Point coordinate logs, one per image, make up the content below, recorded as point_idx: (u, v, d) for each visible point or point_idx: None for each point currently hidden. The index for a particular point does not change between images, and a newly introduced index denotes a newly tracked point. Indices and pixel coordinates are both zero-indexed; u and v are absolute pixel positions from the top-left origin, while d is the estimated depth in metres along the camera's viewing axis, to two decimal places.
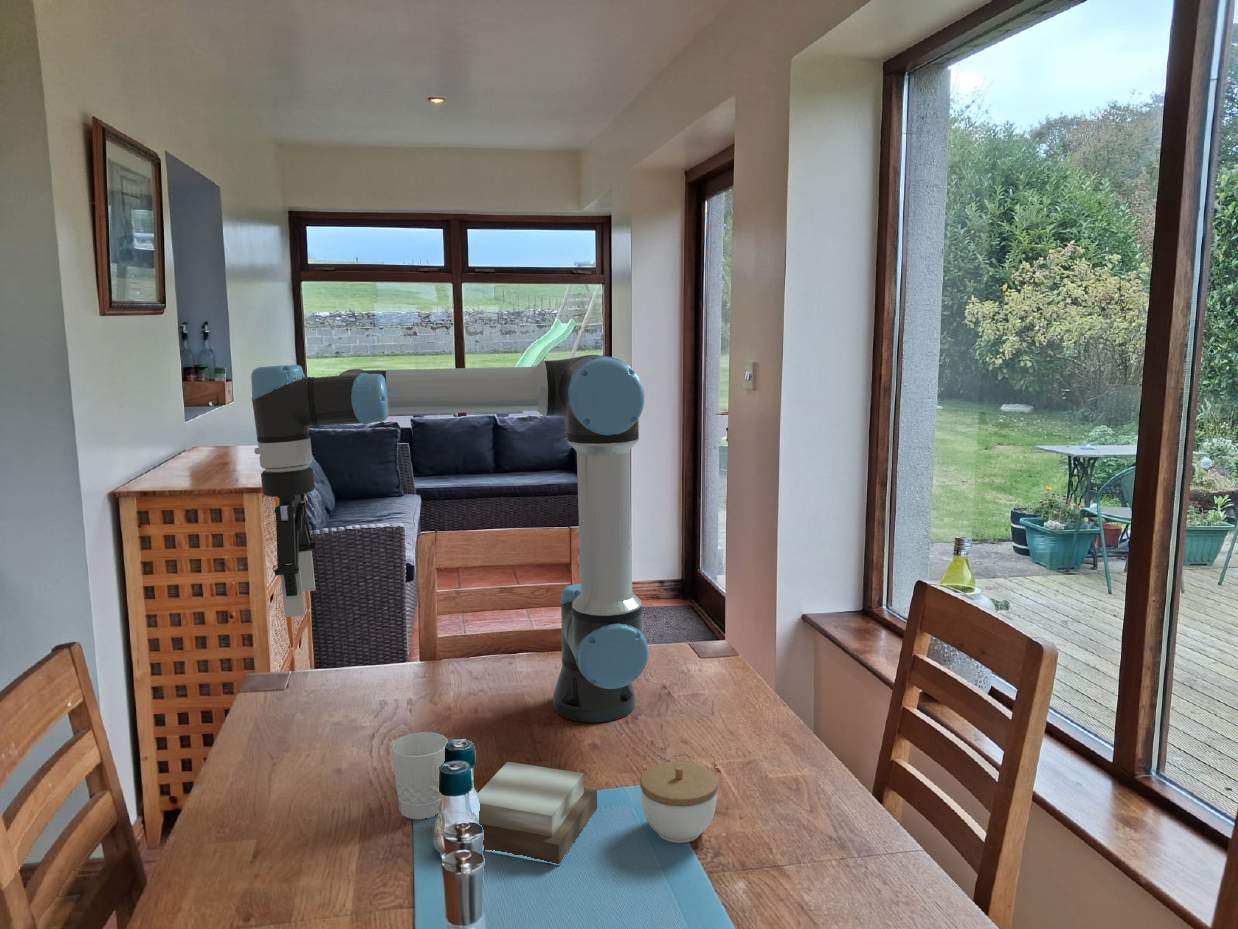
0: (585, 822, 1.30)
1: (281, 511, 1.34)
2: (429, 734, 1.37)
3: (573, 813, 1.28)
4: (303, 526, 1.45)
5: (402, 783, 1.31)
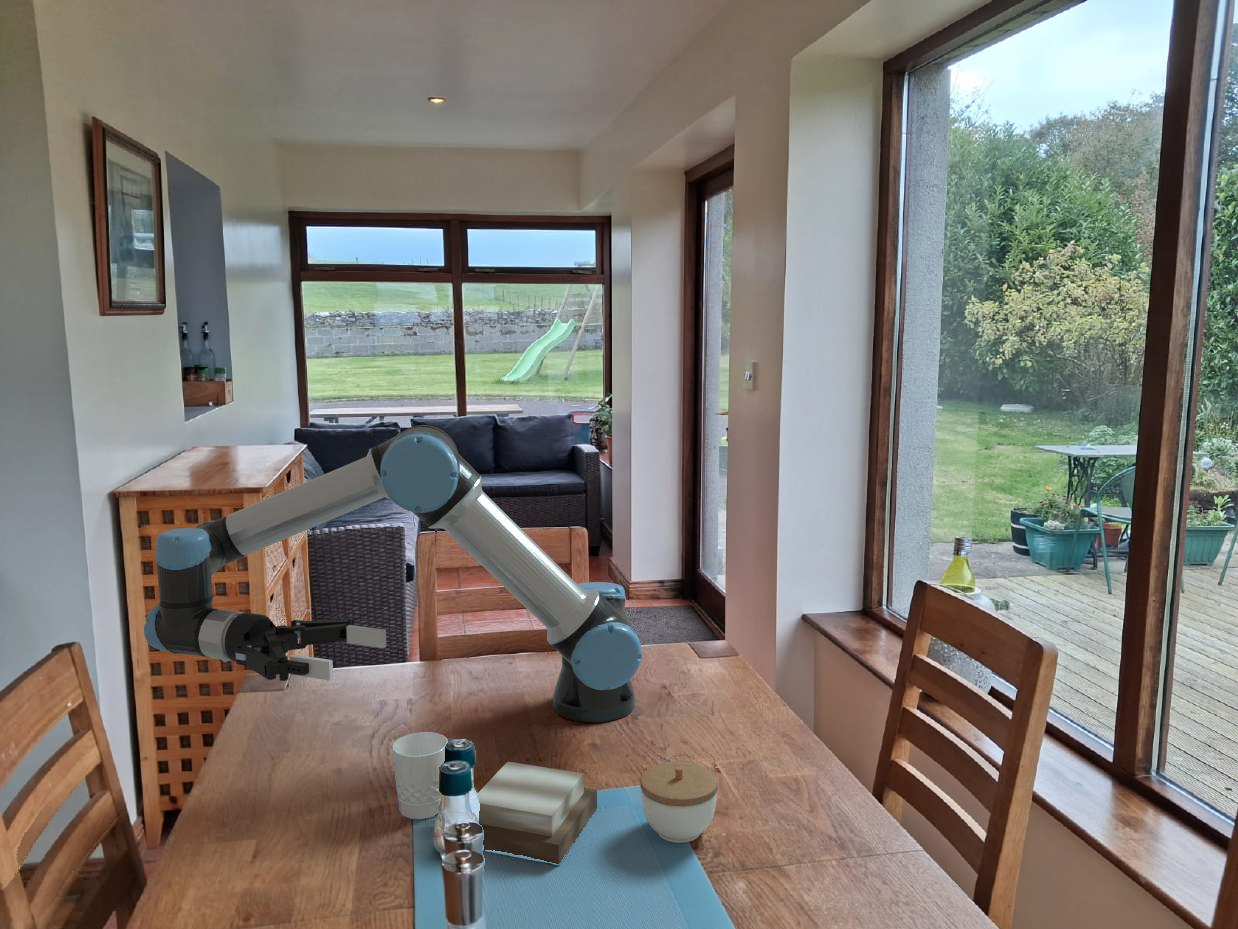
0: (585, 822, 1.30)
1: (237, 658, 1.33)
2: (429, 734, 1.37)
3: (573, 813, 1.28)
4: (308, 630, 1.41)
5: (402, 783, 1.31)
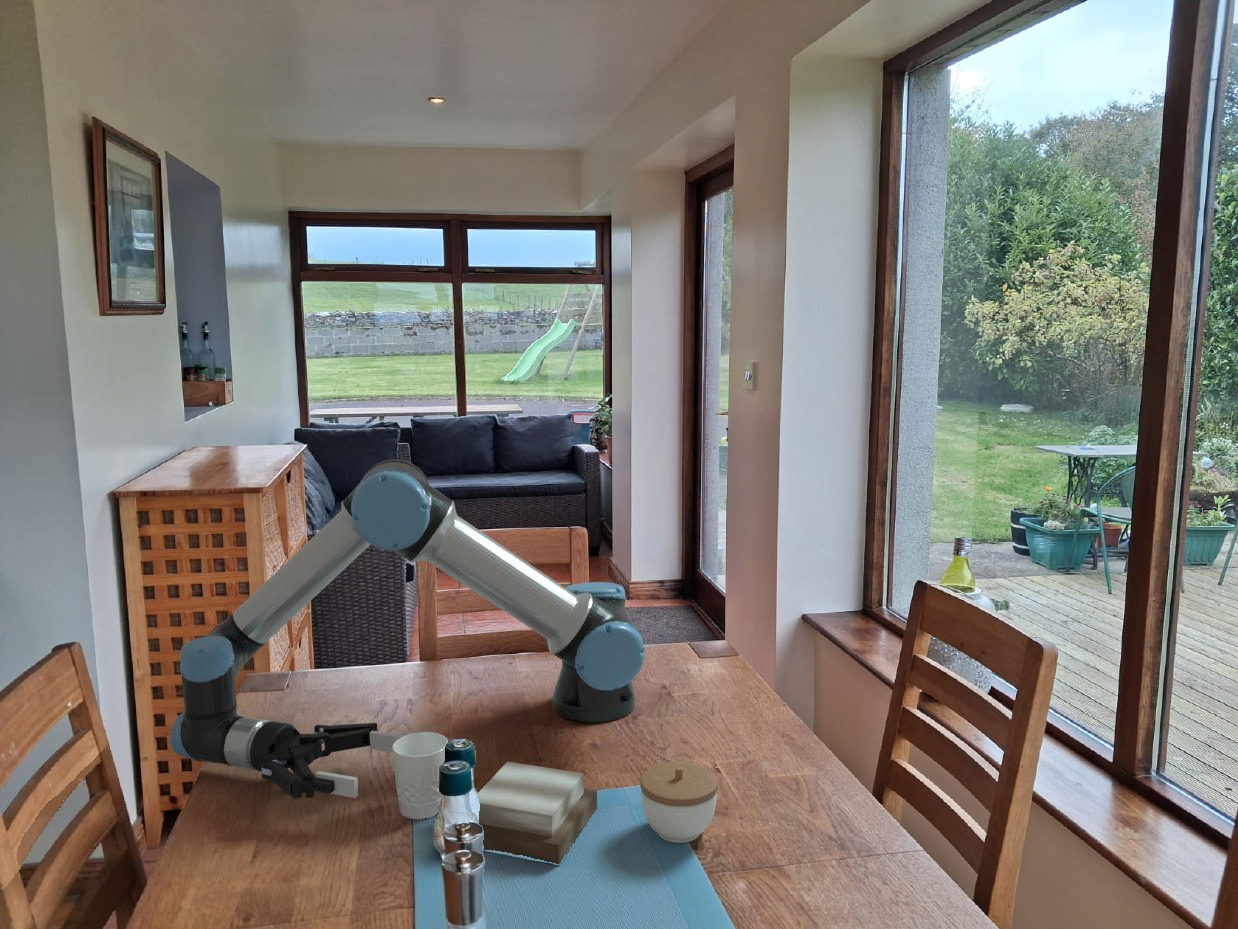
0: (585, 822, 1.30)
1: (263, 773, 1.34)
2: (429, 734, 1.37)
3: (573, 813, 1.28)
4: (332, 738, 1.42)
5: (402, 783, 1.31)
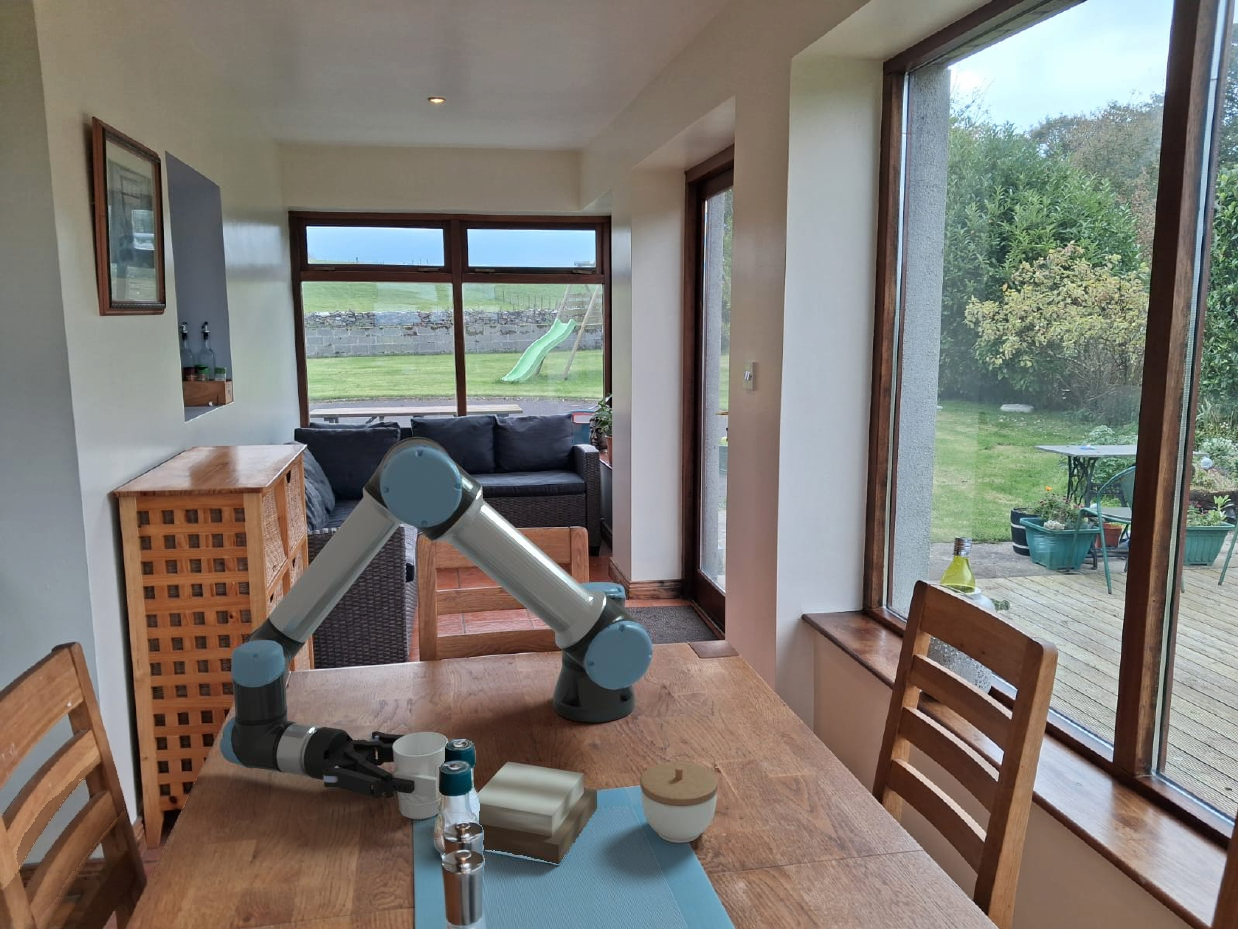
0: (585, 822, 1.30)
1: (327, 781, 1.31)
2: (429, 734, 1.37)
3: (573, 813, 1.28)
4: (384, 748, 1.38)
5: None
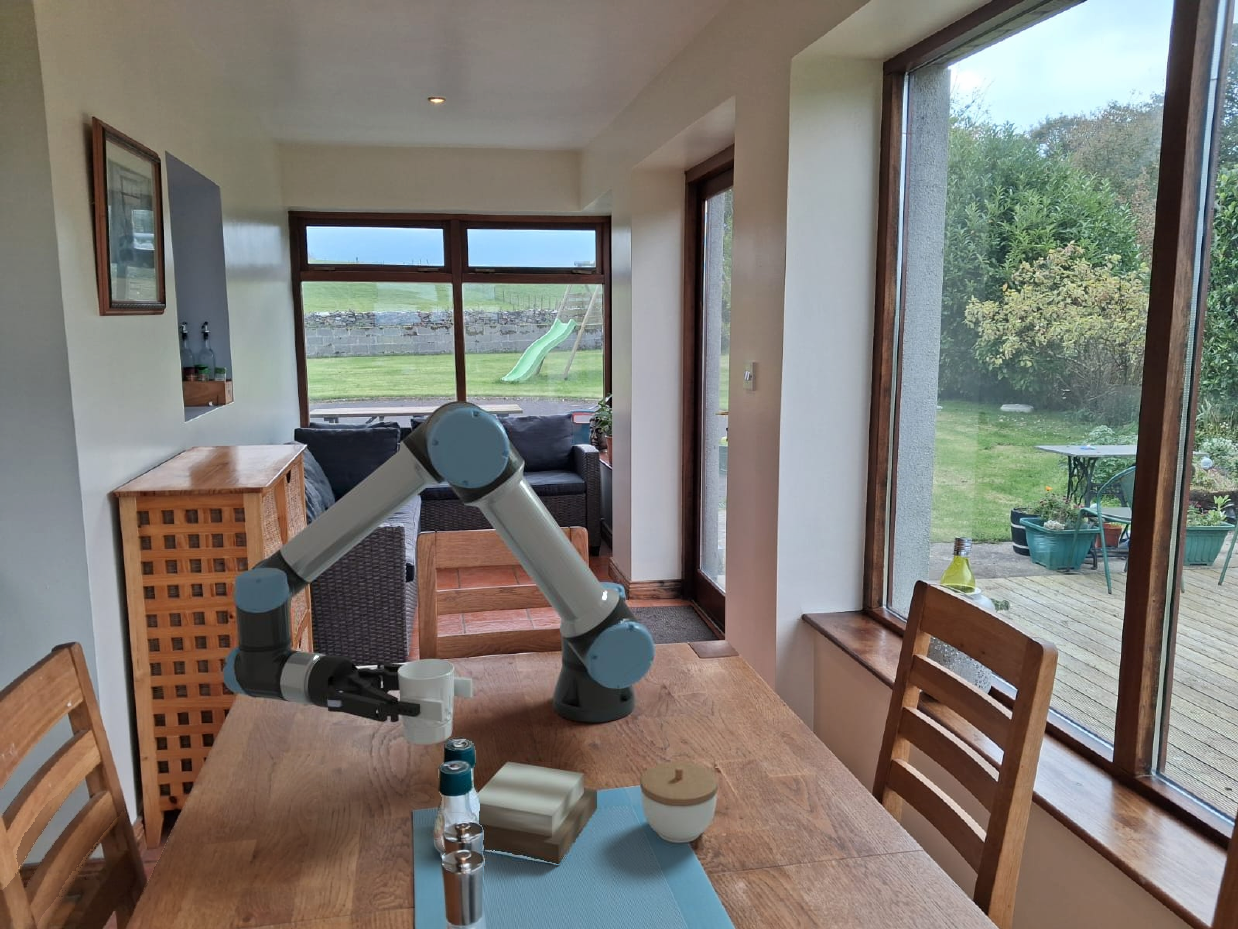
0: (585, 822, 1.30)
1: (331, 705, 1.29)
2: (435, 661, 1.34)
3: (573, 813, 1.28)
4: (390, 676, 1.36)
5: None
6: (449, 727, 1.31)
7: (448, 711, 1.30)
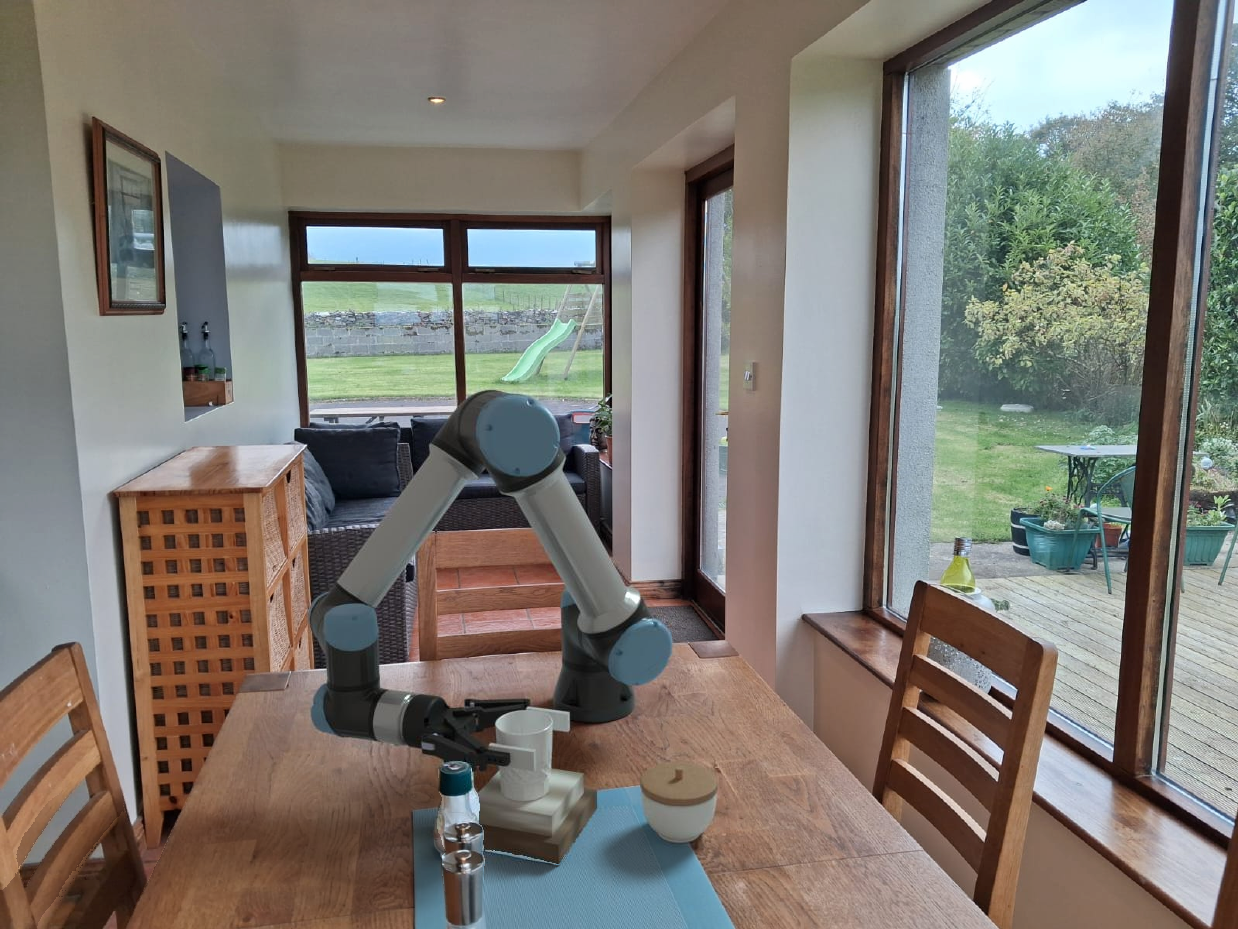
0: (585, 822, 1.30)
1: (424, 748, 1.25)
2: (531, 713, 1.30)
3: (573, 813, 1.28)
4: (486, 713, 1.33)
5: None
6: (548, 782, 1.27)
7: (547, 766, 1.26)
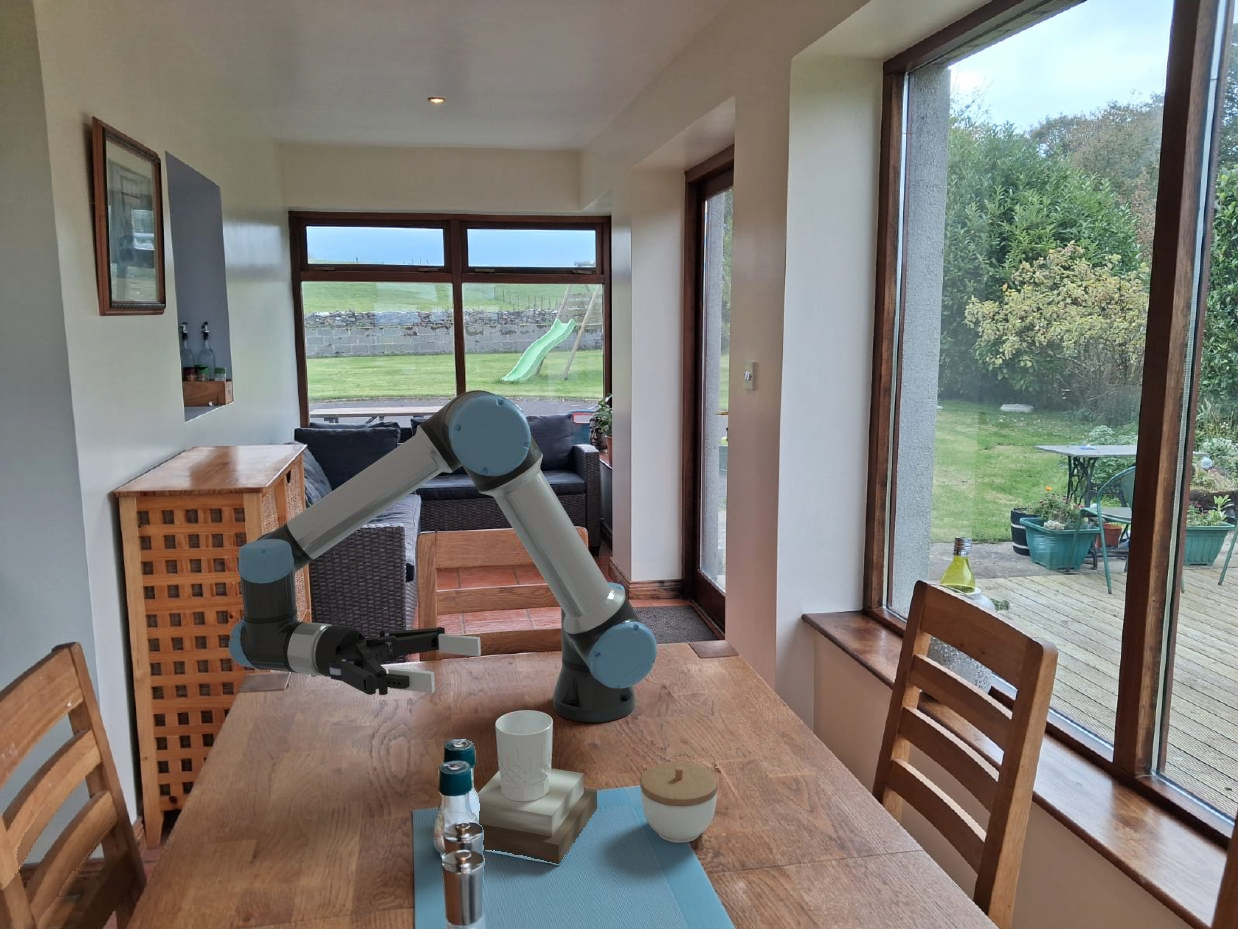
0: (585, 822, 1.30)
1: (332, 673, 1.28)
2: (531, 713, 1.30)
3: (573, 813, 1.28)
4: (399, 641, 1.36)
5: (506, 763, 1.24)
6: (548, 782, 1.27)
7: (547, 766, 1.26)
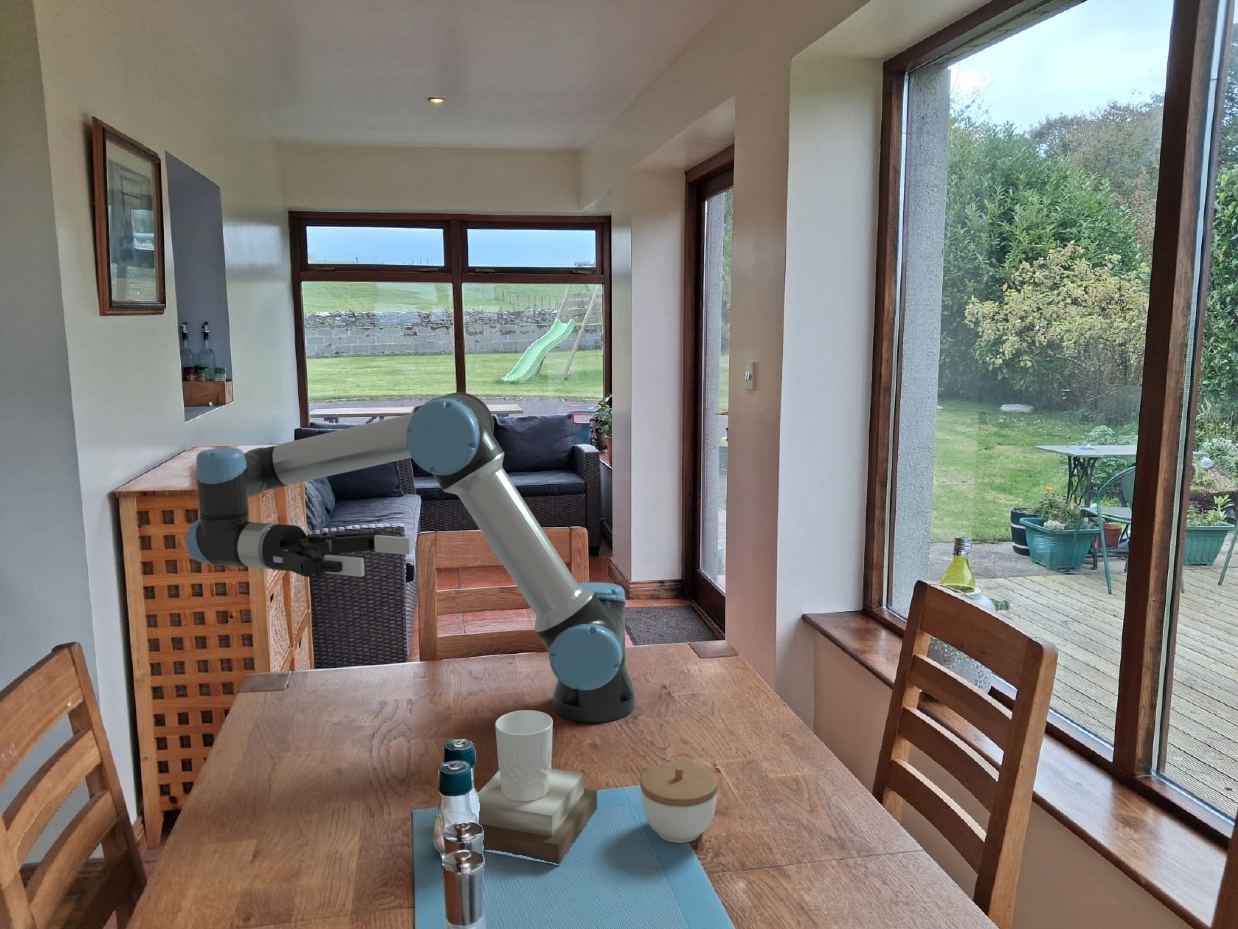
0: (585, 822, 1.30)
1: (275, 561, 1.43)
2: (531, 713, 1.30)
3: (573, 813, 1.28)
4: (338, 540, 1.51)
5: (506, 763, 1.24)
6: (548, 782, 1.27)
7: (547, 766, 1.26)
